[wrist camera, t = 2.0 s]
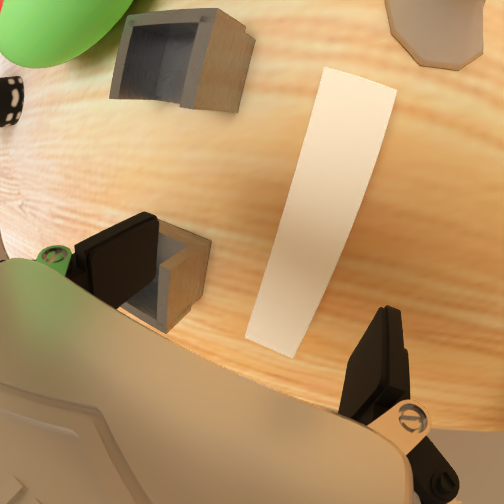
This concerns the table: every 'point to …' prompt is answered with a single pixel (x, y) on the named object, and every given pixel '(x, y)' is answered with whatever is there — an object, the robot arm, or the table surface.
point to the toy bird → (54, 28)
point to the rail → (320, 206)
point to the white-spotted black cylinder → (10, 100)
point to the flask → (438, 30)
